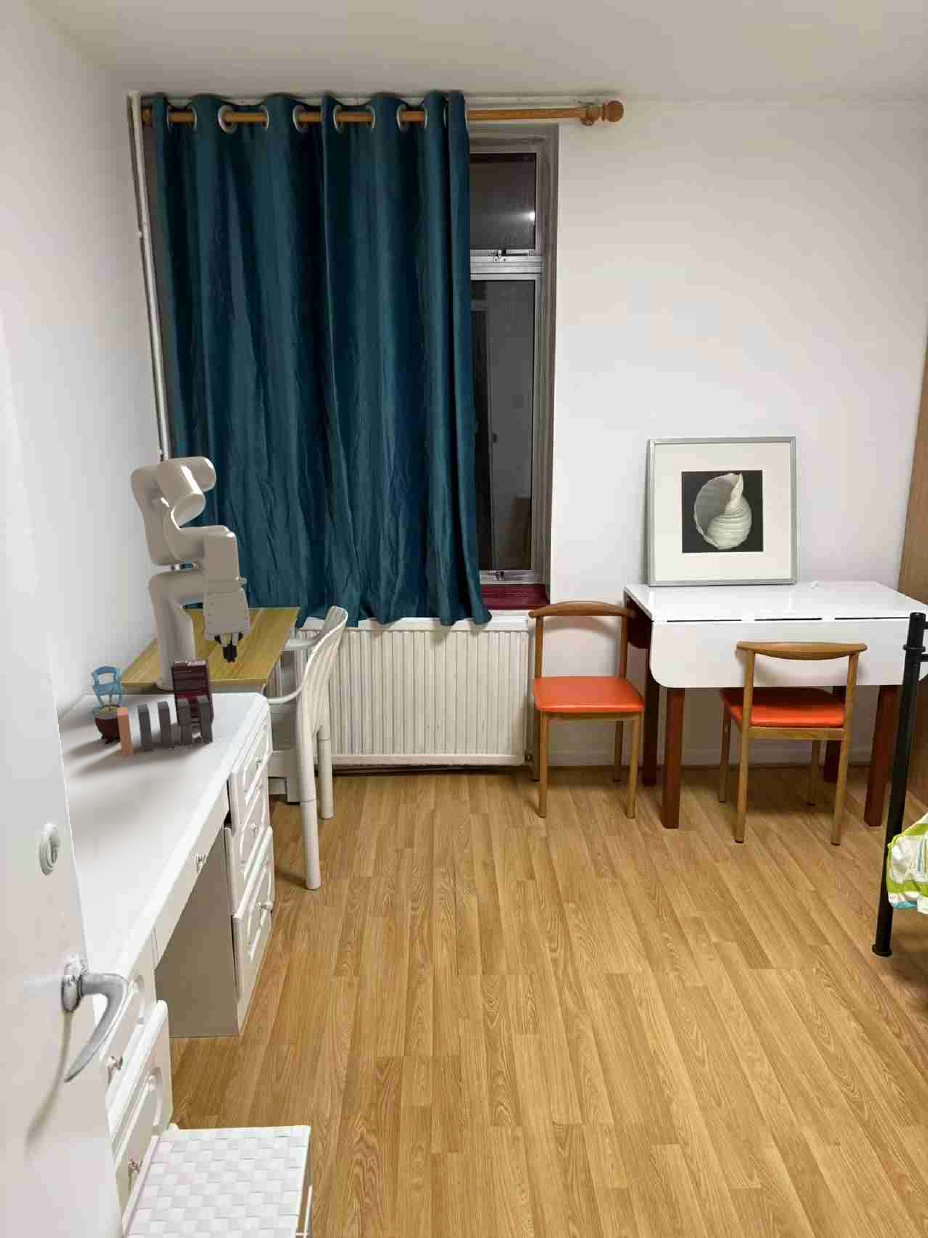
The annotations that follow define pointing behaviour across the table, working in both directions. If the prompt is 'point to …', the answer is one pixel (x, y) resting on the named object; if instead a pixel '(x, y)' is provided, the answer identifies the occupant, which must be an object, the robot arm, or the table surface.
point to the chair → (107, 685)
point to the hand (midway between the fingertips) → (230, 660)
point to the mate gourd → (108, 721)
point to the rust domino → (124, 731)
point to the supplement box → (192, 685)
